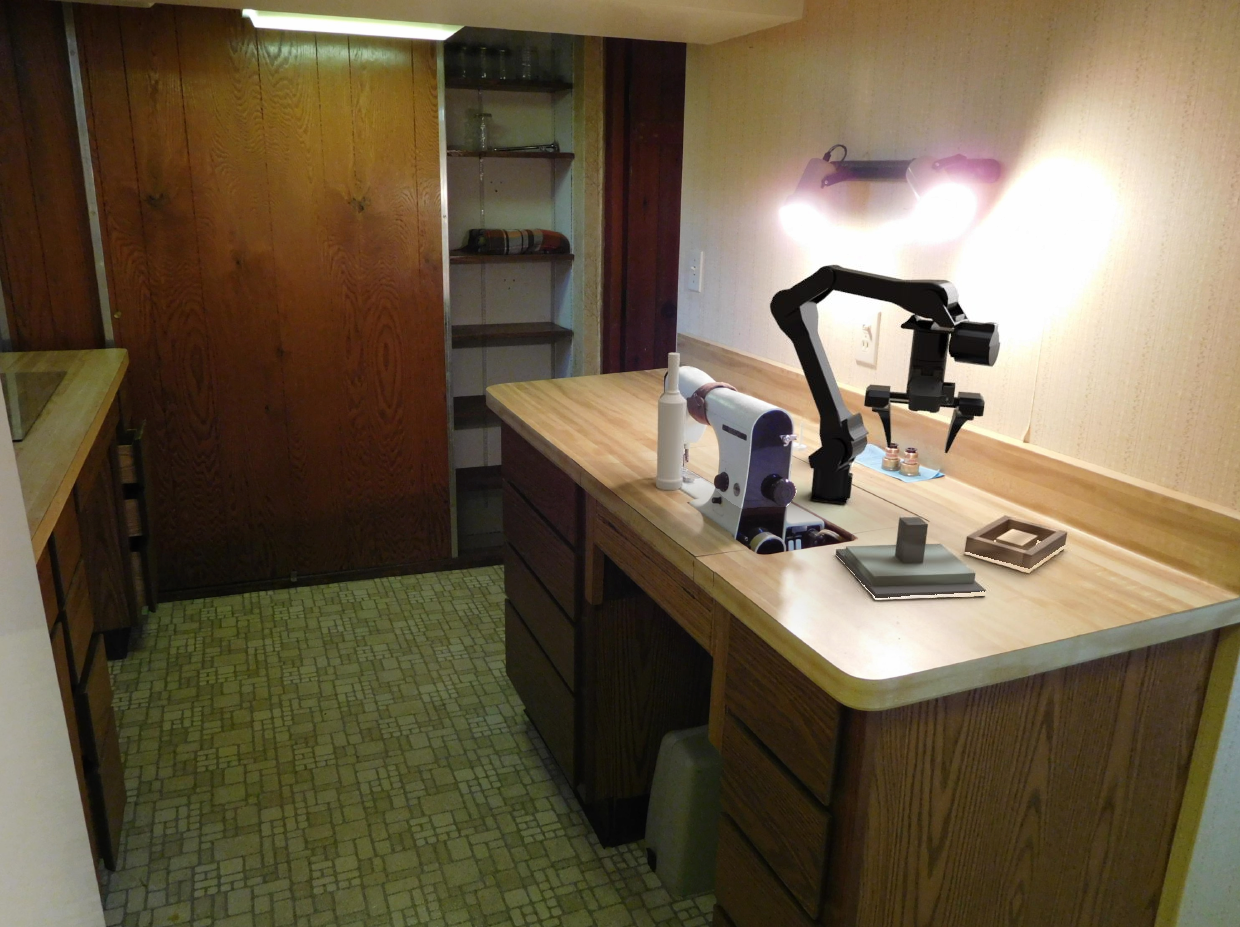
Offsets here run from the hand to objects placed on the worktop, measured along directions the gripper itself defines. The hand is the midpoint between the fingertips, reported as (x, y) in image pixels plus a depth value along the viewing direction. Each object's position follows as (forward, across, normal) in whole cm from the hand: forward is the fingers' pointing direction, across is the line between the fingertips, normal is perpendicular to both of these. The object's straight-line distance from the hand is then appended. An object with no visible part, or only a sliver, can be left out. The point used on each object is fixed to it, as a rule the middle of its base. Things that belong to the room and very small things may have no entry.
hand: (917, 449), depth 156 cm
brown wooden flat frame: (+12, +16, -11) cm, 23 cm away
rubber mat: (+12, 0, -26) cm, 29 cm away
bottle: (+12, -43, +1) cm, 45 cm away
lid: (+11, 0, -26) cm, 28 cm away
